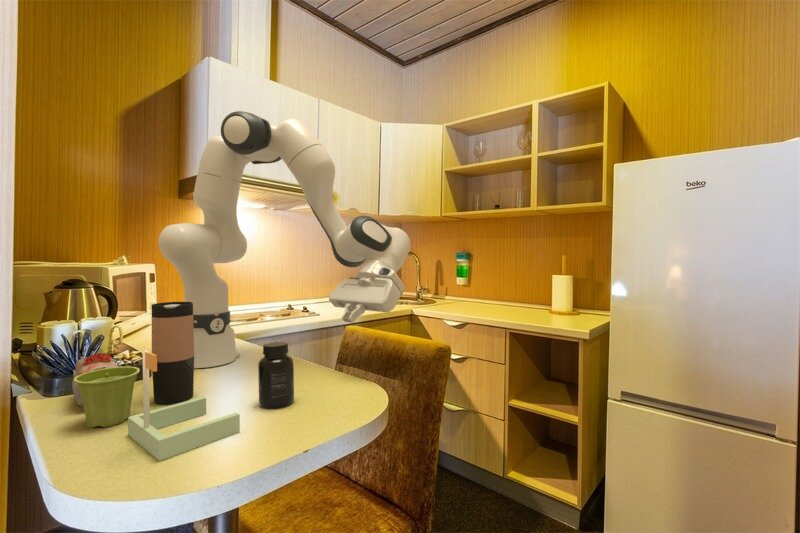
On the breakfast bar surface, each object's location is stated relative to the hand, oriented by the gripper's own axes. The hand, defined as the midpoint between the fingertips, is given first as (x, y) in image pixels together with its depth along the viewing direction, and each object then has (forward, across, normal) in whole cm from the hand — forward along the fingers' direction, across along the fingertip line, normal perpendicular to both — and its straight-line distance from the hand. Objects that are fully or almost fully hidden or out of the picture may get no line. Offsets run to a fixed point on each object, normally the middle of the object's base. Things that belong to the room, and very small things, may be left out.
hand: (347, 320), depth 93 cm
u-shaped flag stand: (+36, 0, -16) cm, 39 cm away
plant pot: (+41, -16, -21) cm, 49 cm away
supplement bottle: (+24, 0, -4) cm, 24 cm away
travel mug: (+32, -19, -12) cm, 40 cm away
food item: (+40, -30, -19) cm, 54 cm away
